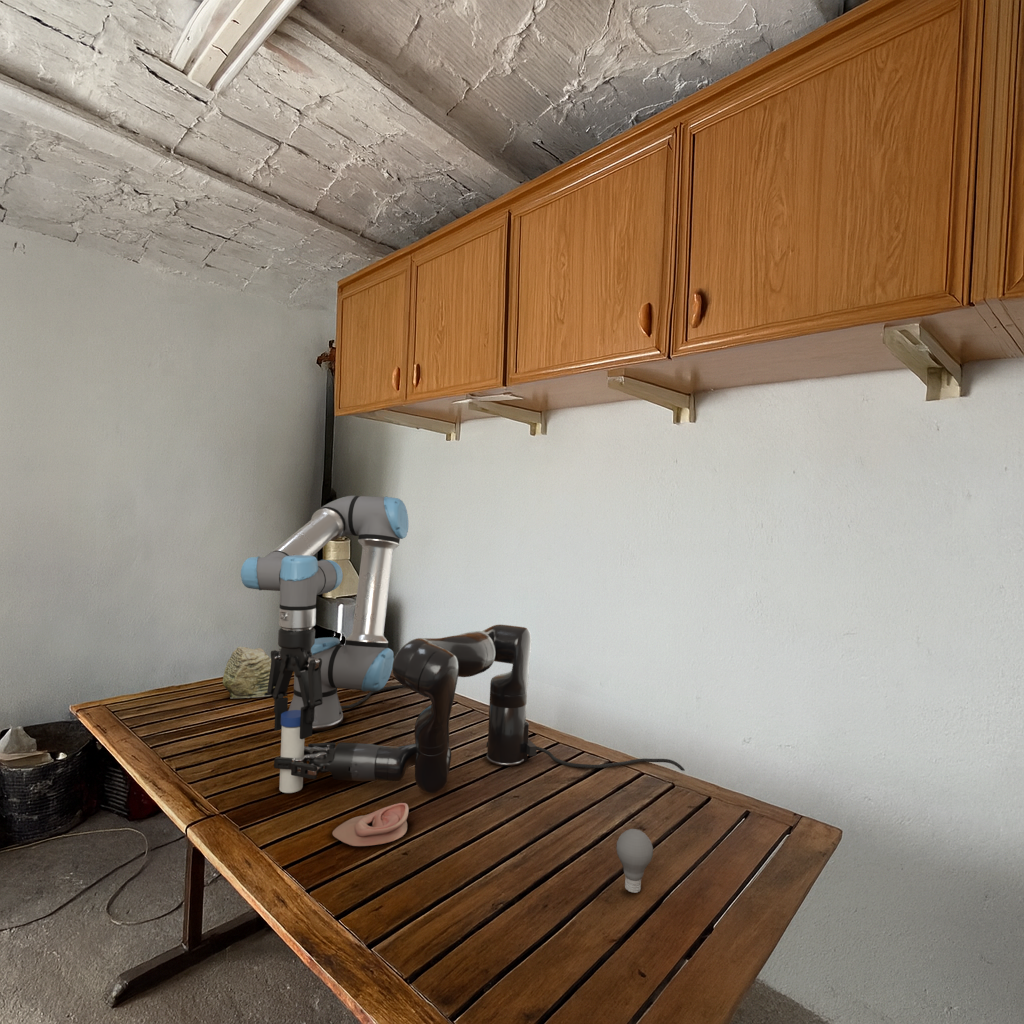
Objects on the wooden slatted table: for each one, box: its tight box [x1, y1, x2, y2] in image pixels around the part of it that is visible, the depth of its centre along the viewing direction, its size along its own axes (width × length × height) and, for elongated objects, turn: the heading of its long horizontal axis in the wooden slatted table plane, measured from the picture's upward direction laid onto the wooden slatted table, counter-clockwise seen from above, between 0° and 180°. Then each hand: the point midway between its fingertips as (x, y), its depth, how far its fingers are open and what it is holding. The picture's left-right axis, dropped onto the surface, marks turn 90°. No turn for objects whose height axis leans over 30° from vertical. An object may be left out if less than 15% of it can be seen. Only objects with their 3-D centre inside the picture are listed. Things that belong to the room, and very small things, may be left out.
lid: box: [281, 710, 301, 727], centre depth 137 cm, size 5×5×2 cm
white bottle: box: [278, 726, 306, 794], centre depth 137 cm, size 5×5×16 cm
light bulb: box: [615, 828, 654, 894], centre depth 106 cm, size 6×6×10 cm
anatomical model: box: [332, 802, 410, 847], centre depth 121 cm, size 13×4×12 cm
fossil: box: [222, 646, 275, 699], centre depth 198 cm, size 9×18×15 cm, turn 132°
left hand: (293, 732), depth 137 cm, fingers open, 7 cm apart
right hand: (280, 757), depth 137 cm, fingers closed on white bottle, 4 cm apart
